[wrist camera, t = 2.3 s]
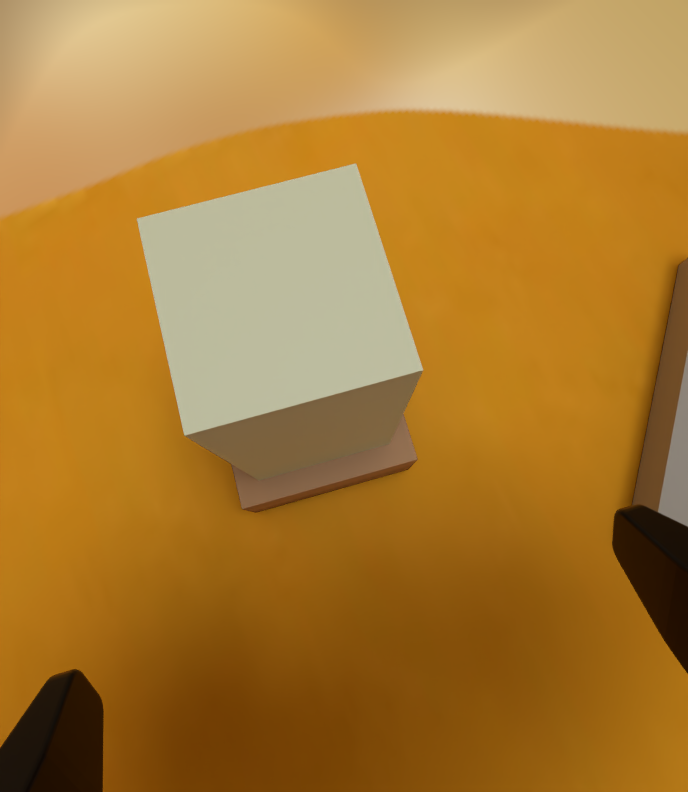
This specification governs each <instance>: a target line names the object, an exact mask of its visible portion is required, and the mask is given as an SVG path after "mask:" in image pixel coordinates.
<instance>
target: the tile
mask: <svg viewBox="0 0 688 792" xmlns="http://www.w3.org/2000/svg"><path fill="white" fill-rule="evenodd" d="M636 504H641V505H644V506H647V507H649V508H651V509H653V510H655V511H657V512H659V513H661V514H663V515H665V516H667V517H669V518H671V519H673V520H675V521H678V522H680V523H682V524H684V525H686V526H688V258H687V259H686V260H685V261H683V262H682V263H681V264H680V265H679V267H678V272H677V277H676V282H675V288H674V293H673V298H672V303H671V308H670V313H669V318H668V323H667V329H666V334H665V339H664V344H663V349H662V354H661V359H660V364H659V370H658V375H657V380H656V385H655V390H654V395H653V400H652V405H651V411H650V416H649V421H648V426H647V431H646V436H645V441H644V446H643V452H642V457H641V462H640V467H639V472H638V477H637V482H636V487H635V492H634V498H633V503H632V505H636Z"/></svg>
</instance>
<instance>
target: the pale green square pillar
mask: <svg viewBox="0 0 688 792" xmlns="http://www.w3.org/2000/svg"><path fill="white" fill-rule="evenodd" d="M137 222H138V226H139V231H140V236H141V240H142V245H143V249H144V254H145V258H146V263H147V267H148V272H149V277H150V281H151V286H152V290H153V295H154V299H155V304H156V308H157V313H158V318H159V322H160V327H161V331H162V336H163V340H164V345H165V350H166V354H167V359H168V363H169V368H170V372H171V377H172V381H173V386H174V391H175V395H176V400H177V404H178V409H179V413H180V418H181V422H182V427H183V432H184V436H186V437H187V438H189V439H191V440H192V441H194V442H196V443H197V444H199V445H201V446H202V447H204V448H206V449H207V450H209V451H211V452H212V453H214V454H216V455H217V456H219V457H221V458H222V459H224V460H226V461H227V462H229V463H231V464H232V465H234V466H236V467H237V468H239V469H241V470H242V471H244V472H245V473H247V474H249V475H250V476H252V477H254V478H255V479H257V480H263V479H266V478H270V477H274V476H277V475H281V474H284V473H288V472H291V471H295V470H299V469H302V468H306V467H309V466H313V465H316V464H320V463H323V462H327V461H331V460H334V459H338V458H341V457H345V456H348V455H352V454H356V453H359V452H363V451H366V450H370V449H373V448H377V447H380V446H384V445H388V444H390V442H391V439H392V437H393V435H394V433H395V431H396V429H397V426H398V424H399V422H400V420H401V418H402V415H403V413H404V411H405V409H406V407H407V404H408V402H409V400H410V398H411V396H412V393H413V391H414V389H415V387H416V385H417V382H418V380H419V378H420V376H421V374H422V371H423V368H422V365H421V362H420V359H419V356H418V353H417V350H416V347H415V344H414V341H413V337H412V334H411V331H410V328H409V325H408V322H407V319H406V316H405V313H404V310H403V307H402V304H401V301H400V297H399V294H398V291H397V288H396V285H395V282H394V279H393V276H392V273H391V270H390V267H389V264H388V260H387V257H386V254H385V251H384V248H383V245H382V242H381V239H380V236H379V233H378V230H377V227H376V224H375V220H374V217H373V214H372V211H371V208H370V205H369V202H368V199H367V196H366V193H365V190H364V187H363V184H362V180H361V177H360V174H359V171H358V168H357V165H356V164H352V165H348V166H344V167H340V168H336V169H332V170H328V171H324V172H320V173H316V174H312V175H309V176H305V177H301V178H297V179H293V180H289V181H285V182H281V183H277V184H273V185H269V186H265V187H261V188H257V189H253V190H249V191H245V192H241V193H237V194H233V195H229V196H225V197H221V198H217V199H213V200H209V201H205V202H201V203H197V204H193V205H189V206H185V207H181V208H177V209H173V210H170V211H166V212H162V213H158V214H154V215H150V216H146V217H142V218H138V219H137Z"/></svg>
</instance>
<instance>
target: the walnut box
mask: <svg viewBox="0 0 688 792" xmlns="http://www.w3.org/2000/svg"><path fill="white" fill-rule="evenodd" d="M416 461H417V456H416V453H415V450H414V446H413V443H412V440H411V437H410V434H409V430H408V427H407V424H406V421H405V417H404V414H403V415H402V418H401V420H400V422H399V424H398V426H397V429H396V431H395V433H394V435H393V437H392V439H391V442H390V444H388V445H384V446H380V447H377V448H373V449H370V450H366V451H363V452H359V453H356V454H352V455H348V456H345V457H341V458H338V459H334V460H331V461H327V462H323V463H320V464H316V465H313V466H309V467H306V468H302V469H299V470H295V471H291V472H288V473H284V474H281V475H277V476H274V477H270V478H266V479H263V480H257V479H255V478H254V477H252V476H250V475H249V474H247V473H245V472H244V471H242V470H241V469H239V468H237V467H236V466H234V465H232V468H233V473H234V477H235V481H236V485H237V490H238V494H239V498H240V502H241V507H242V509H244V510H248V511H252V512H260V511H263V510H267V509H270V508H274V507H277V506H281V505H284V504H288V503H291V502H295V501H298V500H302V499H305V498H309V497H313V496H316V495H320V494H323V493H327V492H330V491H334V490H337V489H341V488H344V487H348V486H351V485H355V484H358V483H362V482H365V481H369V480H372V479H376V478H379V477H383V476H386V475H390V474H394V473H397V472H401V471H404V470H408V469H409V468H410V467H411V466H412V465H413V464H414V463H415V462H416Z"/></svg>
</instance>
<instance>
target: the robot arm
mask: <svg viewBox="0 0 688 792" xmlns="http://www.w3.org/2000/svg"><path fill="white" fill-rule="evenodd" d="M612 545H613V550H614V553H615V556H616V558H617V560H618V561H619V563H620V565H621V567H622V568H623V570H624V572H625V573H626V575H627V577H628V579H629V580H630V582H631V584H632V586H633V587H634V589H635V591H636V593H637V594H638V596H639V598H640V600H641V601H642V603H643V605H644V607H645V608H646V610H647V612H648V614H649V615H650V617H651V619H652V621H653V622H654V624H655V626H656V628H657V629H658V631H659V633H660V634H661V636H662V638H663V639H664V641H665V642H666V644H667V645H668V647H669V648H670V650H671V651H672V652H673V654H674V655H675V657H676V658H677V660H678V661H679V662H680V664H681V665H682V666H683V668H684V669H685V671H686V672H687V673H688V526H686V525H684V524H682V523H680V522H678V521H675V520H673V519H671V518H669V517H667V516H665V515H663V514H661V513H659V512H657V511H655V510H653V509H651V508H649V507H647V506H644V505H641V504H636V505H632V506H629V507H625V508H622V509H619V510H617V511H616V513H615V516H614V527H613V540H612ZM0 792H103V704H102V700H101V698H100V696H99V694H98V693H97V691H96V690H95V689H94V688H93V686H92V685H91V684H90V682H89V681H88V680H87V678H86V677H85V676H84V674H83V673H82V672H81V671H79V670H77V669H73V670H70V671H66V672H63V673H59V674H56V675H54V676H52V677H50V678H49V679H48V680H47V682H46V683H45V684H44V686H43V687H42V688H41V690H40V691H39V693H38V694H37V696H36V697H35V699H34V700H33V701H32V703H31V704H30V706H29V707H28V709H27V710H26V712H25V713H24V714H23V716H22V717H21V719H20V720H19V722H18V723H17V724H16V726H15V727H14V729H13V730H12V732H11V733H10V735H9V736H8V737H7V739H6V740H5V742H4V743H3V745H2V746H1V748H0Z"/></svg>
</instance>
